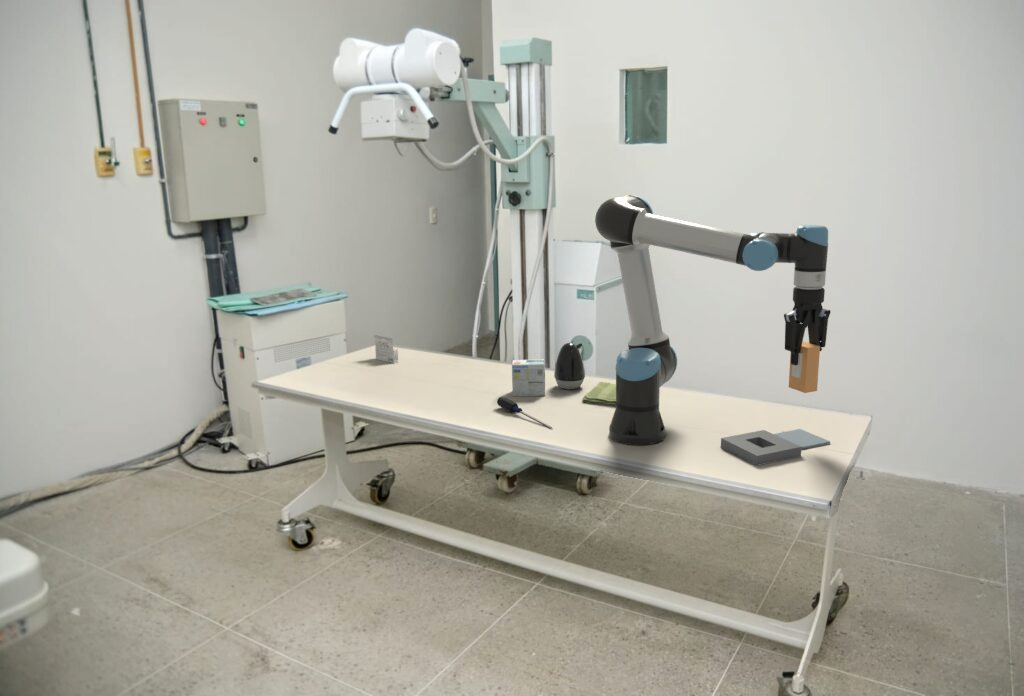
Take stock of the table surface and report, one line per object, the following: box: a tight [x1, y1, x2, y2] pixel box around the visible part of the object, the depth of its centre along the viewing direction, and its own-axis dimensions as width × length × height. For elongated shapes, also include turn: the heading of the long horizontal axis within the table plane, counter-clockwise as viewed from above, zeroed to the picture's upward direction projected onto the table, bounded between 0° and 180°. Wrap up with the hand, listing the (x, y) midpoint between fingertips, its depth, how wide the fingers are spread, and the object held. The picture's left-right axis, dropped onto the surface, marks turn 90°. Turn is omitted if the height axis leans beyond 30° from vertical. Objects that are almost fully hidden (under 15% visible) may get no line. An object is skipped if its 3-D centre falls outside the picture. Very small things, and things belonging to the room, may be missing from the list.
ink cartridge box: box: [373, 334, 399, 364], centre depth 302 cm, size 2×11×10 cm, turn 48°
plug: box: [788, 341, 821, 394], centre depth 205 cm, size 4×6×12 cm, turn 23°
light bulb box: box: [511, 358, 546, 397], centre depth 256 cm, size 11×7×11 cm, turn 88°
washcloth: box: [582, 381, 616, 406], centre depth 251 cm, size 13×18×3 cm
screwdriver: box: [496, 396, 553, 429], centre depth 233 cm, size 26×4×4 cm, turn 36°
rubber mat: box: [773, 428, 831, 450], centre depth 210 cm, size 11×11×1 cm
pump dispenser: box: [553, 342, 586, 390], centre depth 261 cm, size 10×10×15 cm
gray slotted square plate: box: [720, 429, 802, 466], centre depth 203 cm, size 14×14×2 cm
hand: (803, 375), depth 206 cm, fingers closed on plug, 4 cm apart
